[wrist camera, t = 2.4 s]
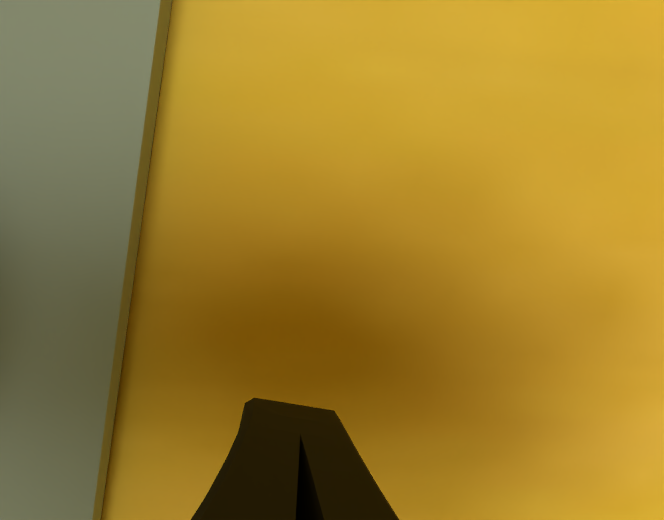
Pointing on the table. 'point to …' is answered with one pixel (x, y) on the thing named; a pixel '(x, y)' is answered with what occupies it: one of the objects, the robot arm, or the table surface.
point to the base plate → (69, 237)
